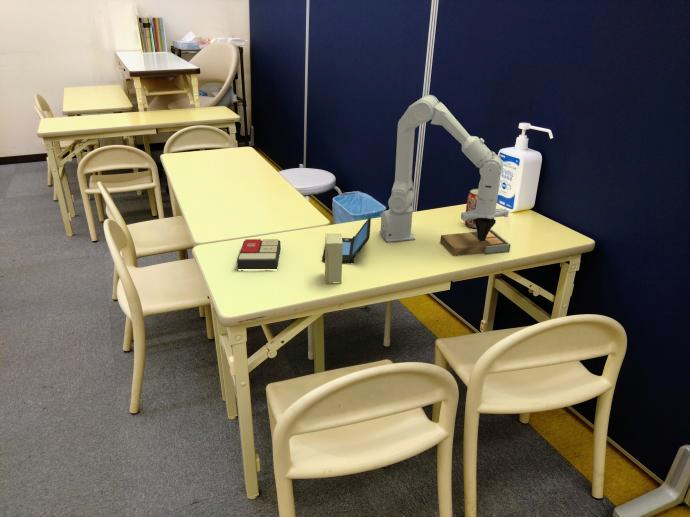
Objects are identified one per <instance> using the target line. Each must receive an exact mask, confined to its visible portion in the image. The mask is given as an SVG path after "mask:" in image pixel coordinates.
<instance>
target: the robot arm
mask: <svg viewBox="0 0 690 517" xmlns="http://www.w3.org/2000/svg"><path fill="white" fill-rule="evenodd" d="M430 120H431V122H430V124H431V125H435V126H442V127H443V128H444V129H445V130H446V131H447V132H448V133H449V134H451V136H452V137H454V138H455V140H456V141H458V143H459V144H461V152H462V153H463V154H464V155H465V157H466V158H468V159H469V160H470V162H472V164H473V165H475V167H476V168H478V169H479V174H480V181H479V183H478V188H477V189H478V196H477V203H476V209H475V210H471V211H467V212H466V211H462V212H461V214H460V219H461V220H462V221H463V222H465V221H466V220H469V219H473V220H474V222H475V225H476V228H475V229H476V231H477V235H478V240H480V241H485V239H486V237H487V235H488V233H489V231H490V230H492V228H493V227H494V226H495V225H496V222H497V220H496V219H495V218H500V217H504V218H509V212H510V211H509V210H508V209H506V208H497V203H498V197H499V192H500V191H499V190H500V181H501V174H502V170H503V166H504V163H503V160H502V158H501V156H500V155H499V154H496V152H494V151H492V150H490V149H489V147H487V145H486V144H485V139H483V138H482V137H480V138H479V137H478V136H473V135H470V134H469V133H468V132H467V130H466V129H465V128H464V127H463V125H462V124H461V123H460V122H459V121H458V119H456V118H455V116H454V115H453V113H451V111H450V110H449V109H448V108H447V107H446V106H445V104H443V102H442V101H440V100H438V98H437V97H436V96H435V95H432V94H427V95H424V96H422V97H421V98H419V99H417V101H415V102H413V103H412V104H410V105H409V106H408V107H407V109H406V111H405V112H404V114H403V115H402V116H401V118H399V120H398V123H397V135H396V138H397V139H396V150H395V151H396V154H395V168H394V169H395V170H394V171H395V174H394V182H393V186H392V188H391V195H390V197H389V199H388V201H387V205H388V207H389V209H388V210H383V211H381V215H380V231H379V233H380V235H381V236H382V237H383V239H384V240H385V241H386V242H387V243H388V242H389V243H393V242H402V241H411V240H416V237H415V236H414V235H413V234H412V225H413V224H412V223H413V213H414V210H413V207H412V203H413V202H414V201H415V198H416V193H415V190H414V188H413V187H414V183H413V178H412V176H413V165H414V164H413V160H414V148H415V133H416V132H415V131H416V128H418V127H419V126H420V125H423V124H426V123H428V122H429V121H430Z"/></svg>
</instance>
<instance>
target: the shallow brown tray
mask: <svg viewBox="0 0 690 517" xmlns="http://www.w3.org/2000/svg"><path fill="white" fill-rule="evenodd" d="M470 232H471V231H469V232H468V231H467V232H462V233H461V232H459V233H450V234H441V235H440V238H439V239H440V241H439V242H440V244H441V245H442V246H443V247H444V248H445V249H446V250H447V251H448V252H449V253H450V254H451V255H452V256H453V257H458V255H460V256H468V254H469V255H477V254H485V253H484V250H485V245H484V244H483V243H482V242H481V241H480V240H478V239H477V238H476V237H475V236H474V235H473V234H472V233H470Z"/></svg>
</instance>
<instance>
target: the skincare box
mask: <svg viewBox="0 0 690 517" xmlns="http://www.w3.org/2000/svg"><path fill="white" fill-rule="evenodd" d="M324 237H325V238H324V239H325V240H324V242H325V245H324V248H325V262H324V278H325V279H326V280H325V284H326V283H333V282H341V283H342V282H343V281H342V277H343V276H342V275H343V274H342V273H343V263H342V251H343V241H342V238H343V237H342V233H325V235H324Z"/></svg>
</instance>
